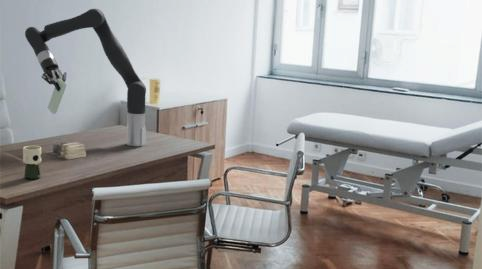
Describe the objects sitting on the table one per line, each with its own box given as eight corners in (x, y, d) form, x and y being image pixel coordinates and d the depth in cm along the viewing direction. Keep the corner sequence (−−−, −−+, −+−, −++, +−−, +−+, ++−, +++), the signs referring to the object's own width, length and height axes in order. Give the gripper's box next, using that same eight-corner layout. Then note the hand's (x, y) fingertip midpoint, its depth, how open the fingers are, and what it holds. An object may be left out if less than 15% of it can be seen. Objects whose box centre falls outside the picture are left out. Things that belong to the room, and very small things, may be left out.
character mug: (31, 182, 236) (31, 151, 234) (16, 180, 238) (16, 149, 236) (48, 175, 246) (47, 145, 244) (33, 173, 249) (33, 143, 246)
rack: (44, 153, 280) (44, 140, 279) (66, 150, 289) (66, 137, 288) (66, 161, 269) (66, 147, 268) (88, 158, 278) (88, 144, 277)
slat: (47, 107, 292) (57, 79, 283) (51, 107, 294) (61, 78, 285) (52, 113, 290) (62, 85, 281) (55, 113, 292) (66, 85, 283)
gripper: (37, 57, 282) (52, 86, 277) (62, 56, 292) (77, 84, 287) (31, 67, 286) (46, 95, 281) (56, 66, 297) (70, 93, 292)
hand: (61, 89), depth 284 cm, fingers closed on slat, 1 cm apart
